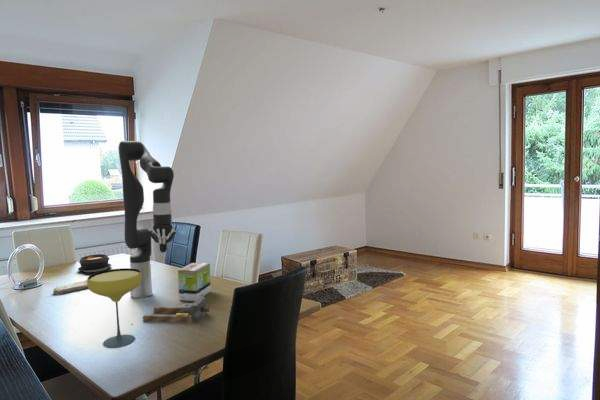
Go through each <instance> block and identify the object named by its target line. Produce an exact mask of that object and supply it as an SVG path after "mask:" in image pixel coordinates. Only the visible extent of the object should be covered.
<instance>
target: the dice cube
mask: <svg viewBox="0 0 600 400" xmlns="http://www.w3.org/2000/svg"><path fill="white" fill-rule="evenodd" d="M193 303H194V302H191V303H187V302H184V303H183V304H182V305H181V306H179V307H180V313H189V315H191V305H192V304H193Z"/></svg>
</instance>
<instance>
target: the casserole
mask: <svg viewBox="0 0 600 400" xmlns="http://www.w3.org/2000/svg"><path fill="white" fill-rule="evenodd" d="M109 260H110V257H109V256H108V255H107V254H103V253H102V254H99V253H98V254H96V253H95V254H90V255H85V256H82V257H80V260H79V261H78V263H79V264H80V267H78V268H77V271H80V272H84V273H98V272H101V271H106V270H109V268H110V267H112V264H111V263H109Z"/></svg>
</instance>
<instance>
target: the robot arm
mask: <svg viewBox="0 0 600 400" xmlns="http://www.w3.org/2000/svg"><path fill="white" fill-rule="evenodd" d="M117 152H118V158H119V159H118V160H119V164H120V171H121V178H122V179H121V183H122V195H123V197H122V199H123V208H124V242H125V244H126V247H127V248H129V249H130V250H134V249H136V251H135V252H133V253H132V254H131V255H130V256H129V262H130V263H129V266H130V267H129V268H130V269H137V270H139V271H140V272H141V275H142V280H141V283H140V284H139V285H138V286H137V287H136V288H135V289H133V290H132V291H130V292H129V293H130V297H131V298H135V299H141V298H146V297H147V298H148V297H151V296H152V295H153V283H152V282H153V281H152V265H151V256H152V239H153V241H154V242H155V243H157V244H158V245H159V251H160V253H166V252H167V251H168V244H169V243H171V242H172V241H173V240H174V239H175V237H176V235H177V234H178V230H175V229H174V227H173V225H172V223H173V222H172V212H173V211H172V205H171V189H172V186H173V183H174V182H173V181H174V177H175V175H174V174H175V173H174V170H173V169H172V167H171V166H167V165H166V166H162V165H161V164H160V162H159V161H158V160H156V159H155V158H154V157H153V156H152V155H151V154H150V152H149V151H148V149H147V148H146V146H145V144H143V143H142V142H141V141H137V140H121V141H120V142H119V144H118V151H117ZM130 161H139V166H140V169H142V170H143V172H144V173H146V177H147V178H148V181H149V182H150V183H153V184H161V187H158V188H155V189H153V191H152V215H153V216H152V217H153V218H152V219H153V220H152V222H153V226H152V229H151V230H149V229H148V228H147V227H138V226H137V224H138V218H139V214H140V212H141V211H142V208H143V205H144V202H145V195H144V187H143V185H142V183H141V182H140V180H139V179H138V178H137V176H136V175H135V174H134V172H133V170H132V168H131V164H130ZM169 235H170V236H169Z"/></svg>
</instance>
